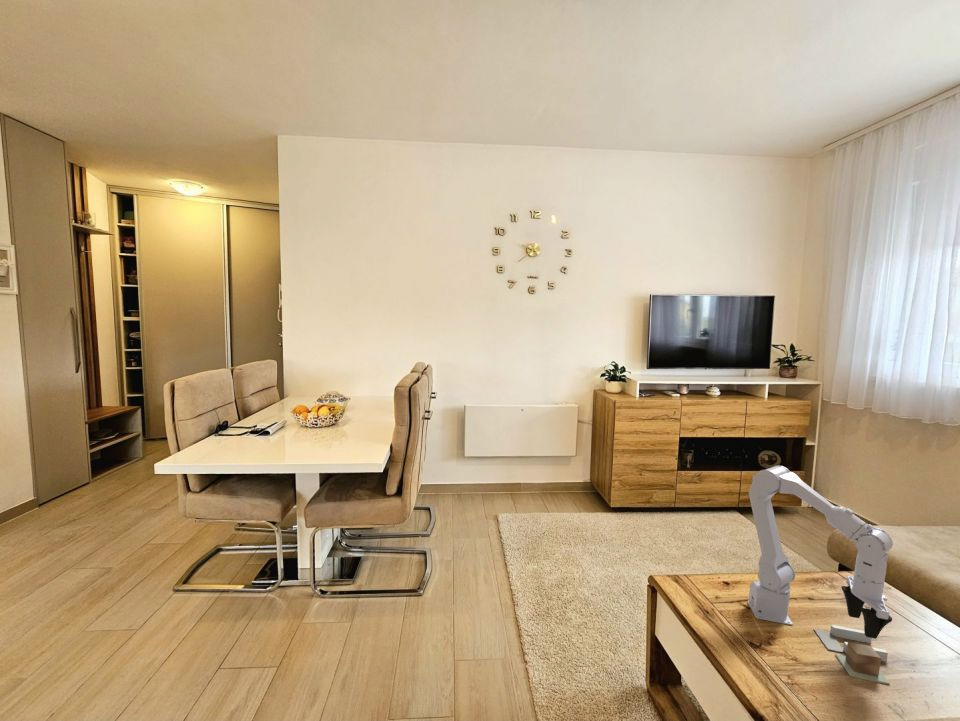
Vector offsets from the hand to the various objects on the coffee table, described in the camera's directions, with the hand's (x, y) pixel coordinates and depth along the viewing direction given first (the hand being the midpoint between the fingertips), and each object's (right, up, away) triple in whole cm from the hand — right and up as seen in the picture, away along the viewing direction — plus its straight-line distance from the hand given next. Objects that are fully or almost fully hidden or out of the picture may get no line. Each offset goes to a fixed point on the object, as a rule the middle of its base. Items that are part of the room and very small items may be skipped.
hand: (861, 626), depth 111 cm
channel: (+2, -9, +6) cm, 11 cm away
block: (-2, -9, -2) cm, 10 cm away
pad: (-2, -10, -2) cm, 10 cm away
